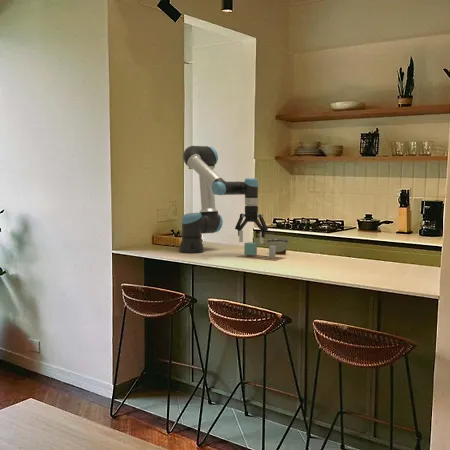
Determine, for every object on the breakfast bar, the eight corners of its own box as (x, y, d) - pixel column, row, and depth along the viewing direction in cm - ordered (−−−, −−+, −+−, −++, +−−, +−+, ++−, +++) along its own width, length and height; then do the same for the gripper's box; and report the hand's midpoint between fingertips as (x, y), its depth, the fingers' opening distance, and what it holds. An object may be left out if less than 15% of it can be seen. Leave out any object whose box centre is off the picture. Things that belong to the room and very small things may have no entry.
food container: (287, 254, 334) (288, 238, 333) (288, 256, 328) (288, 239, 327) (267, 254, 335) (267, 237, 334) (266, 255, 329) (267, 238, 328)
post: (269, 258, 313) (269, 246, 312) (271, 257, 315) (271, 245, 314) (273, 258, 311) (273, 246, 311) (275, 258, 314) (275, 245, 313)
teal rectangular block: (244, 254, 320) (244, 243, 319) (248, 253, 324) (249, 242, 324) (252, 255, 317) (252, 243, 316) (256, 254, 321) (256, 242, 321)
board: (235, 258, 318) (235, 256, 318) (248, 255, 330) (248, 253, 330) (275, 262, 304) (275, 260, 304) (286, 259, 316) (286, 257, 316)
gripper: (229, 205, 322) (229, 241, 323) (267, 206, 308) (267, 244, 310) (236, 204, 328) (236, 240, 330) (273, 205, 314) (273, 243, 316)
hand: (251, 242), depth 320 cm, fingers open, 13 cm apart
